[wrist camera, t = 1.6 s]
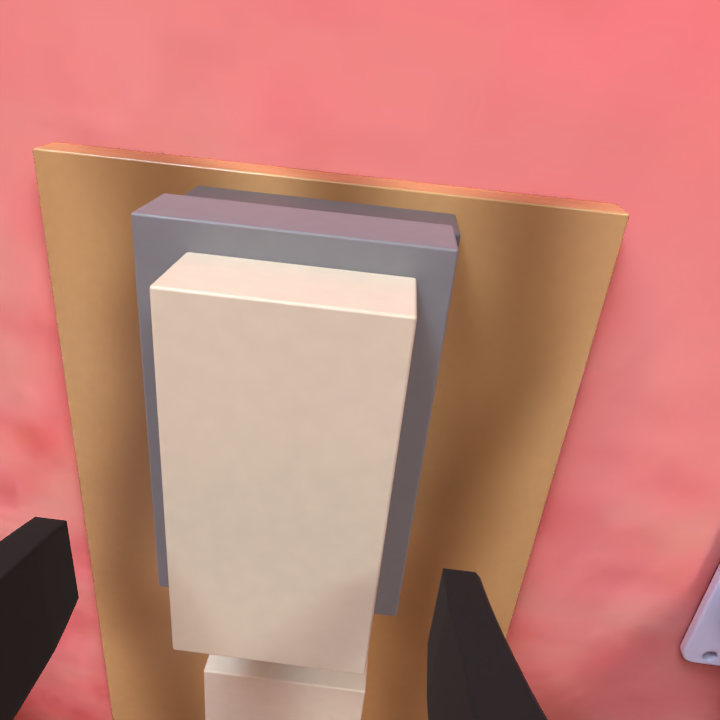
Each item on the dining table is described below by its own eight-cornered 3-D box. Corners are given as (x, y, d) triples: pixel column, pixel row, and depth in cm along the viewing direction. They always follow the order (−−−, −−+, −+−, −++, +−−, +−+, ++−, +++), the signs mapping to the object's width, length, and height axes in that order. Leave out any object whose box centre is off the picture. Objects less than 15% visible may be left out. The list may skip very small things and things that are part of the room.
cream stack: (374, 577, 23) (365, 688, 19) (350, 746, 27) (339, 862, 24) (233, 559, 23) (196, 665, 19) (233, 730, 28) (203, 843, 24)
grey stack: (457, 206, 17) (469, 250, 13) (404, 528, 22) (402, 623, 18) (189, 176, 17) (128, 212, 13) (199, 502, 22) (158, 592, 18)
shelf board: (617, 203, 17) (630, 213, 16) (465, 745, 29) (467, 772, 28) (53, 141, 18) (30, 147, 17) (123, 700, 29) (112, 725, 28)
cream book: (417, 277, 13) (417, 317, 11) (370, 606, 18) (365, 675, 16) (186, 250, 13) (147, 285, 12) (198, 584, 18) (172, 650, 16)
